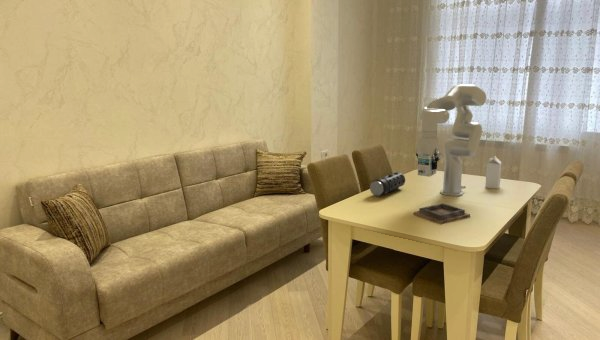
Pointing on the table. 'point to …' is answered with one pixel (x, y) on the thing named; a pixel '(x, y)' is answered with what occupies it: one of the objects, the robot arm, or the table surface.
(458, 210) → the tray
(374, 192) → the muzzle brake
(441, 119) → the robot arm
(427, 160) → the light bulb box
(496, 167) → the milk carton
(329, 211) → the table surface
